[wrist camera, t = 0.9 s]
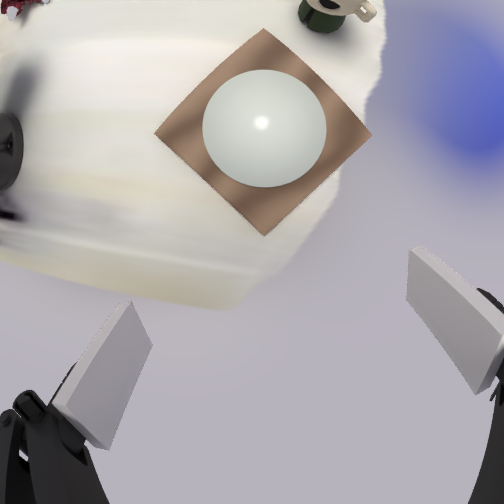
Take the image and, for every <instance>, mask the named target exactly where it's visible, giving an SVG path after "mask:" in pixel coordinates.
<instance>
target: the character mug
mask: <svg viewBox="0 0 504 504" xmlns="http://www.w3.org/2000/svg"><path fill="white" fill-rule="evenodd" d="M361 6H362V7H363V8H364V9H365V10H366V11H367V12H366V13H364V12H363V11H362V10H361V9H360V8H361ZM353 13H355V14H356V15H357V16H358V17H359V18H360V19H361V20H362V21H363V22H369V21H370V20H371V19H372V18H373V17H374V16H375V15H376V13H377V11H376V9H375V8H374V7H373V6H372V5H371V4H370V3H369V2H368V1H367V0H303V1H302V2H301V4H300V6H299V10H298V15H299V18H300V20H301V21H302V22H303V20H304V19H305V18H306V20H307V21H308V22H309V23H308V25H307V27H308V28H310V29H312V30H315V31H317V32H325V33H329V32H332V31H335V30H337V29H338V28H339V27H340V26H341V25H342V24H343V22H344V20H345V17H346V15H349V14H353Z"/></svg>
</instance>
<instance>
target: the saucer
mask: <svg viewBox="0 0 504 504" xmlns="http://www.w3.org/2000/svg"><path fill="white" fill-rule="evenodd" d="M202 130H203V138H204V143H205V146H206V149H207V151H208V153H209V155H210V157H211V159H212V160H213V161H214V163H215V164H216V165H217V166H218V167H219V168H220V170H221V171H223V172H224V173H225V174H226V175H228V176H229V177H231V178H232V179H234V180H236V181H238V182H240V183H243V184H246V185H250V186H255V187H275V186H281V185H284V184H287V183H290V182H292V181H294V180H296V179H298V178H299V177H301V176H302V175H304V174H305V173H306V172H307V171H308V170H309V169H310V168H311V167H312V166H313V165H314V164H315V162H316V161H317V160H318V158H319V156H320V154H321V152H322V150H323V147H324V144H325V139H326V120H325V115H324V112H323V109H322V106H321V104H320V102H319V100H318V99H317V97H316V96H315V94H314V93H313V92H312V91H311V90H310V89H309V88H308V87H307V86H306V85H305V84H304V83H303V82H301V81H300V80H298V79H296V78H295V77H293V76H291V75H288V74H286V73H283V72H279V71H274V70H254V71H248V72H245V73H242V74H239V75H237V76H235V77H233V78H231V79H230V80H228V81H226V82H225V83H224V84H223V85H222V86H220V87H219V89H218V90H217V91H216V92H215V93H214V94H213V96H212V97H211V99H210V101H209V103H208V105H207V107H206V110H205V113H204V117H203V127H202Z"/></svg>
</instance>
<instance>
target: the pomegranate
mask: <svg viewBox="0 0 504 504" xmlns="http://www.w3.org/2000/svg"><path fill="white" fill-rule="evenodd" d="M27 1H30V0H2V2H1V14H5V13H6V14H7V16H8V19H9V20H10V21H14V19H15V17H16V16H17V15H19V14H20V13H21V11H22V10H23V9H21V7H22V5H25V2H27ZM36 1H37V3H41V1H43V2H44V3H48V2H49V0H36ZM21 2H23V3H21ZM32 2H33V0H31V2H30V4H31V3H32ZM30 4H29V5H30Z"/></svg>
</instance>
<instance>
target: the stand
mask: <svg viewBox="0 0 504 504" xmlns="http://www.w3.org/2000/svg"><path fill="white" fill-rule="evenodd" d="M254 70H274V71H279V72H283V73H286V74H288V75H291V76H293V77H295V78H296V79H298V80H300V81H301V82H303V83H304V84H305V85H306V86H307V87H308V88H309V89H310V90H311V91H312V92H313V93H314V94H315V96H316V97H317V99H318V100H319V102H320V104H321V106H322V109H323V112H324V115H325V120H326V139H325V144H324V147H323V150H322V152H321V154H320V156H319V158H318V160H317V161H316V162H315V164H314V165H313V166H312V167H311V168H310V169H309V170H308V171H307V172H306V173H305V174H304V175H302V176H301V177H299V178H298V179H296V180H294V181H292V182H290V183H287V184H284V185H281V186H275V187H255V186H250V185H246V184H243V183H240V182H238V181H236V180H234V179H232V178H231V177H229V176H228V175H226V174H225V173H224V172H223V171H221V170H220V168H219V167H218V166H217V165H216V164H215V163H214V161H213V160H212V159H211V157H210V155H209V153H208V151H207V149H206V146H205V143H204V138H203V130H202V127H203V117H204V113H205V110H206V107H207V105H208V103H209V101H210V99H211V97H212V96H213V94H214V93H215V92H216V91H217V90H218V89H219V87H220V86H222V85H223V84H224V83H225V82H226V81H228V80H230V79H231V78H233V77H235V76H237V75H239V74H242V73H245V72H248V71H254ZM154 134H155V135H156V136H157V137H158V138H159V139H161V140H162V141H163V142H164V143H165V144H166V145H167V146H168V147H169V148H170V149H172V150H173V151H174V152H175V153H176V154H177V155H178V156H179V157H180V158H181V159H182V160H184V161H185V162H186V163H187V164H188V165H189V166H190V167H191V168H192V169H193V170H194V171H196V172H197V173H198V174H199V175H200V176H201V177H202V178H203V179H204V180H205V181H206V182H207V183H208V184H210V185H211V186H212V187H213V188H214V189H215V190H216V191H217V192H218V193H219V194H220V195H221V196H222V197H223V198H225V199H226V200H227V201H228V202H229V203H230V204H231V205H232V206H233V207H234V208H235V209H236V210H237V211H238V212H239V213H240V214H242V215H243V216H244V217H245V218H246V219H247V220H248V221H249V222H250V223H251V224H252V225H253V226H254V227H255V228H256V229H257V230H258V231H259V232H260V233H261V234H263V235H264V236H265V235H266V234H267V233H268V232H269V231H270V230H271V229H272V228H273V227H275V226H276V225H277V224H278V223H279V222H280V221H281V220H282V219H283V218H284V217H285V216H286V215H287V214H288V213H289V212H291V211H292V210H293V209H294V208H295V207H296V206H297V205H298V204H299V203H300V202H301V201H302V200H303V199H304V198H306V197H307V196H308V195H309V194H310V193H311V192H312V191H313V190H314V189H315V188H316V187H317V186H318V185H319V184H321V183H322V182H323V181H324V180H325V179H326V178H327V177H328V176H329V175H330V174H331V173H332V172H333V171H335V170H336V169H337V168H338V167H339V166H340V165H341V164H342V163H343V162H344V161H345V160H346V159H347V158H349V157H350V156H351V154H353V153H354V152H355V151H356V150H357V149H358V148H359V147H360V146H361V145H363V144H364V143H365V142H366V141H367V140H368V139H369V138H370V137H371V136H372V134H371V133H370V132H369V131H368V129H367V128H366V127H365V126H364V125H363V123H362V122H361V121H360V120H359V119H358V117H357V116H356V115H355V114H354V113H353V112H352V111H351V109H350V108H349V107H348V106H347V105H346V104H345V103H344V102H343V101H342V99H341V98H340V97H339V96H338V95H337V94H336V93H335V92H334V91H333V90H332V89H331V88H330V87H329V86H328V85H327V84H326V83H325V82H324V81H323V80H322V79H321V78H320V77H319V76H318V75H317V74H316V73H315V72H314V71H313V70H312V69H311V68H310V67H309V66H308V65H307V64H306V63H304V62H303V61H302V60H301V59H300V58H299V57H298V56H297V55H296V54H294V53H293V52H292V51H291V50H290V49H289V48H288V47H286V46H285V45H284V44H283V43H282V42H280V41H279V40H278V39H277V38H275V37H274V36H273V35H272V34H270V33H269V32H268V31H267V30H265V29H264V28H263V29H262V30H261V31H260V32H258V33H257V34H256V35H254V36H253V37H252V38H251V39H249V40H248V41H247V42H246V43H244V44H243V45H242V46H241V47H240V48H238V49H237V50H236V51H235V52H234V53H233V54H231V55H230V56H229V57H228V58H227V59H226V60H225V61H223V62H222V63H221V64H220V65H219V66H218V67H217V68H216V69H215V70H214V71H213V72H211V73H210V74H209V75H208V76H207V77H206V78H205V79H204V80H203V81H202V82H201V83H200V84H199V85H198V86H197V87H196V88H195V89H194V90H193V91H192V92H191V93H190V94H189V95H188V96H187V97H186V98H185V99H184V100H183V101H182V102H181V104H180V105H179V106H178V107H177V108H176V109H175V110H174V111H173V112H172V113H171V114H170V116H169V117H168V118H167V119H166V120H165V121H164V122H163V124H162V125H161V126H160V127H159V128H158V129H157V131H156V132H155V133H154Z"/></svg>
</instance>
